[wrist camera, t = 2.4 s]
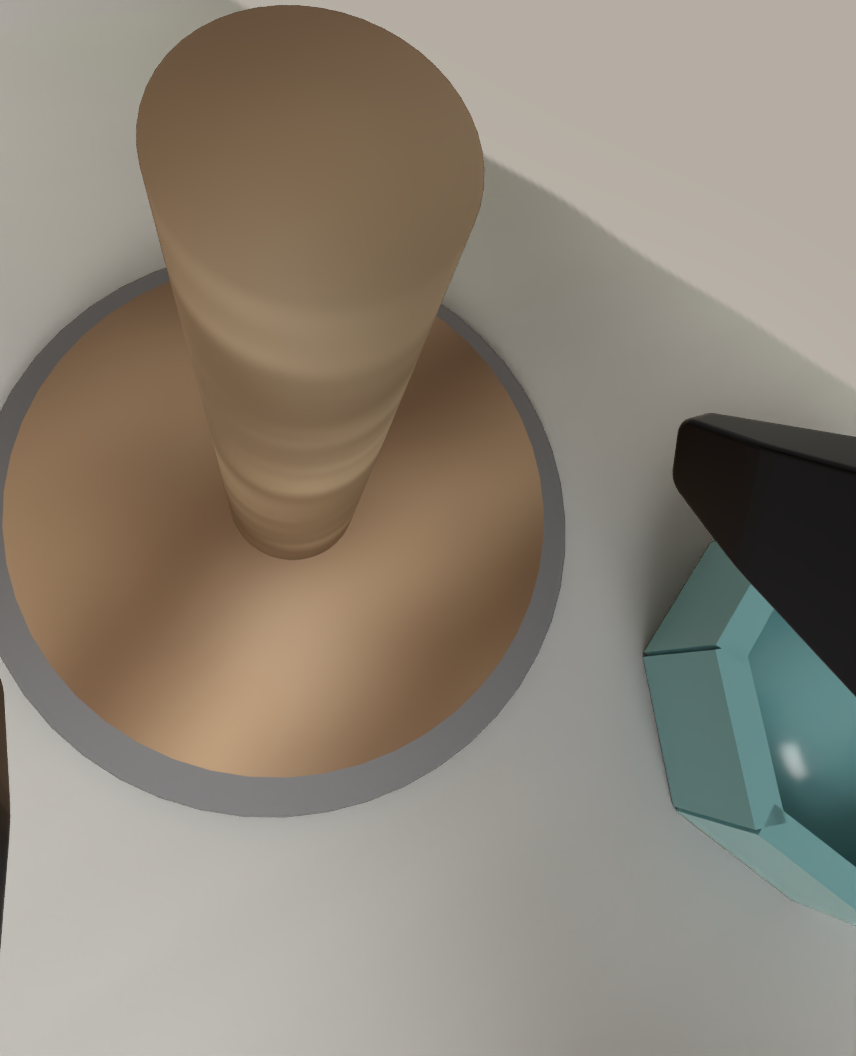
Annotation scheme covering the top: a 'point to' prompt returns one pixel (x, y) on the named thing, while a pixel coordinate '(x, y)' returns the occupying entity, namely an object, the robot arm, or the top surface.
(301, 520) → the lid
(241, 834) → the top surface
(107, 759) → the mat
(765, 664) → the bowl
